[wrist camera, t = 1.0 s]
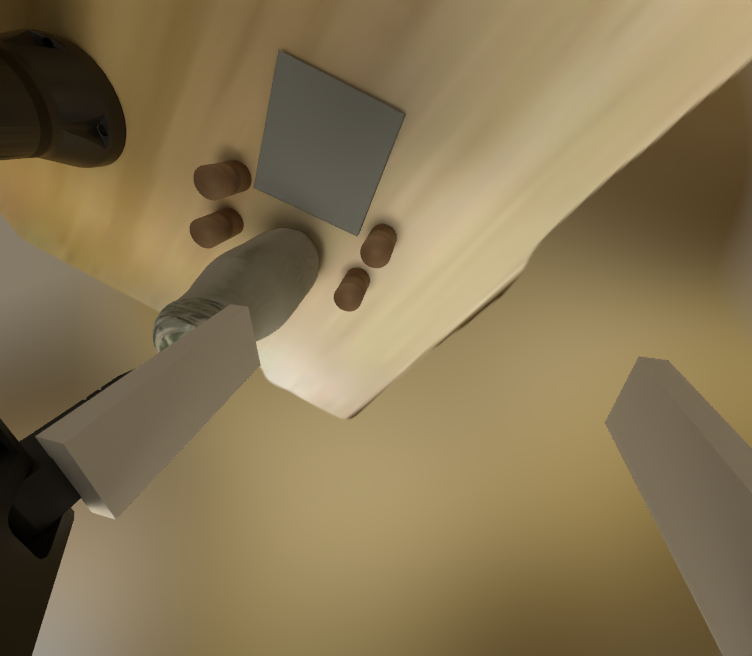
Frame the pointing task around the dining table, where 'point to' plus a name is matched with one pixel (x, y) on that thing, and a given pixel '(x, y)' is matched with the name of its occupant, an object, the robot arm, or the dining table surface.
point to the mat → (324, 144)
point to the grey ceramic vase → (246, 286)
